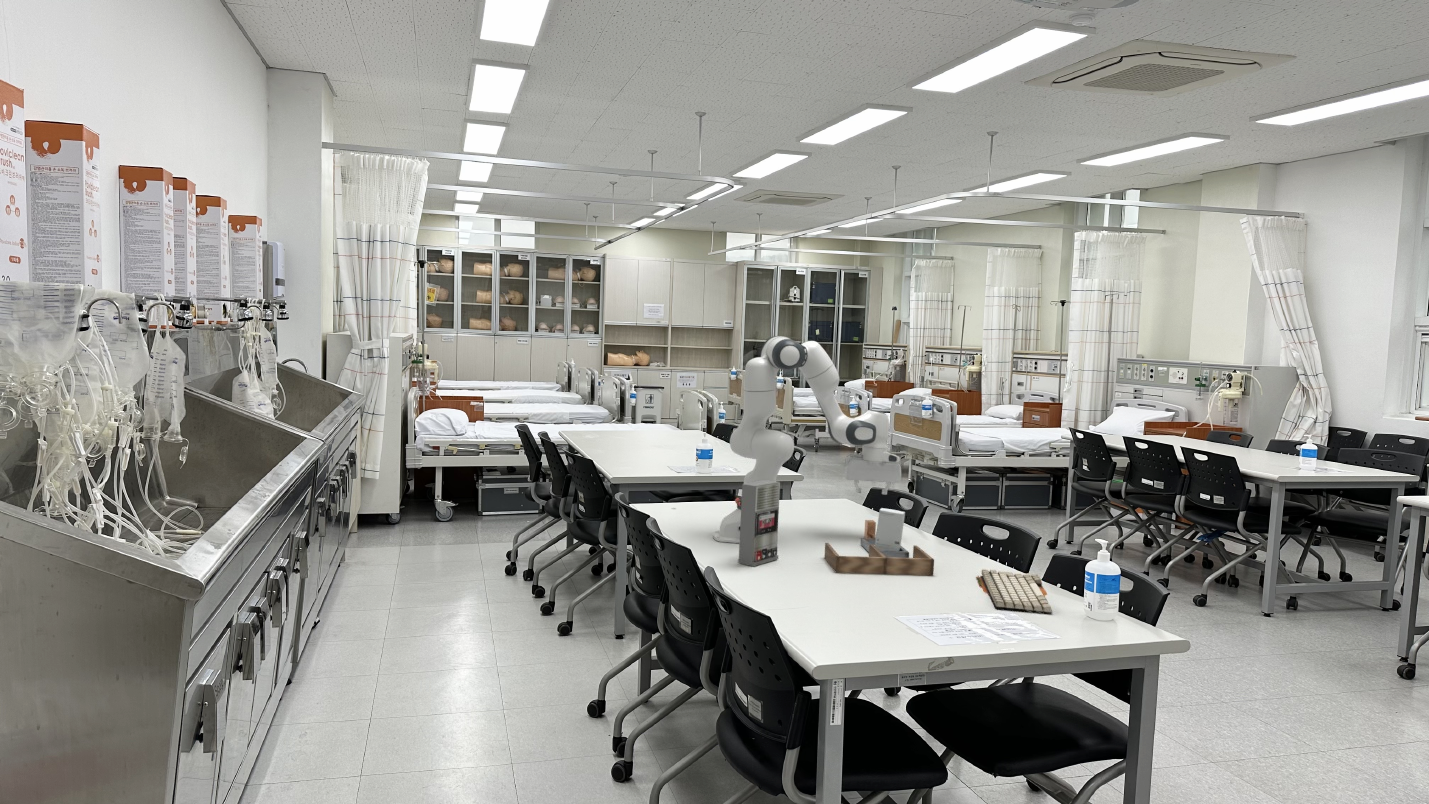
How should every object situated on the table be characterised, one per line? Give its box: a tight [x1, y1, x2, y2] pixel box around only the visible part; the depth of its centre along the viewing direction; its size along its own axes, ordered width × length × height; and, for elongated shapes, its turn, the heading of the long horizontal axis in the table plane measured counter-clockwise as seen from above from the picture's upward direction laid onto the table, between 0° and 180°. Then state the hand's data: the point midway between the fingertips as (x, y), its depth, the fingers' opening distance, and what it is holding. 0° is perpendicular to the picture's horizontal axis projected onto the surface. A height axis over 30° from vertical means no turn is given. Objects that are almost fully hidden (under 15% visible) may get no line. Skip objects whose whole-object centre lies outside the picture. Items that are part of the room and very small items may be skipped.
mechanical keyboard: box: [975, 568, 1053, 615], centre depth 257 cm, size 38×19×3 cm, turn 170°
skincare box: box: [874, 507, 906, 551], centre depth 299 cm, size 8×6×15 cm
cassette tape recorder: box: [737, 480, 781, 568], centre depth 281 cm, size 14×6×25 cm, turn 143°
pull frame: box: [860, 519, 910, 558], centre depth 310 cm, size 12×33×6 cm, turn 3°
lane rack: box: [823, 542, 935, 576], centre depth 283 cm, size 30×19×5 cm, turn 93°
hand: (871, 493), depth 323 cm, fingers open, 8 cm apart
